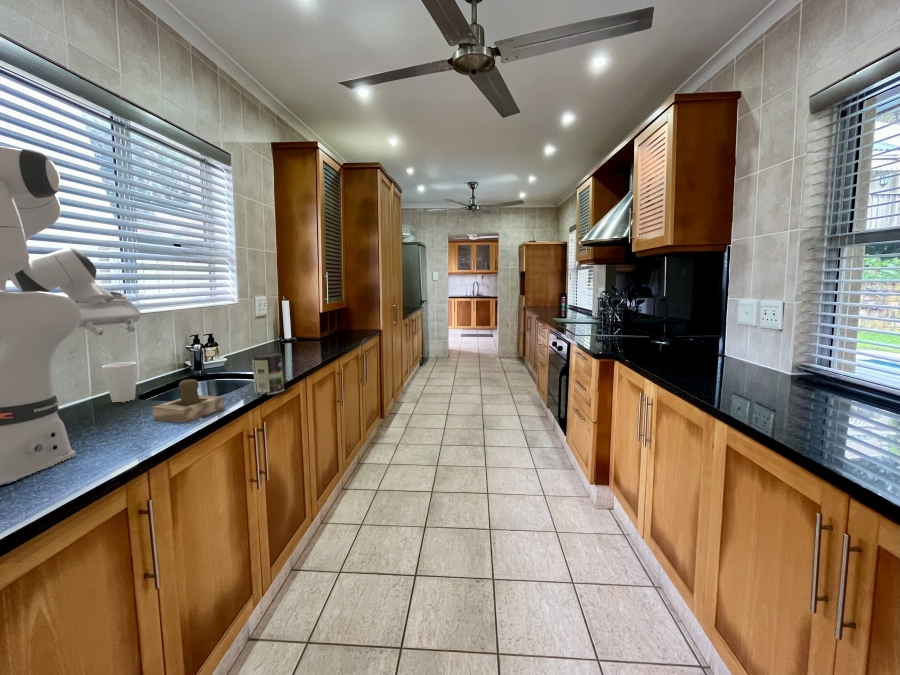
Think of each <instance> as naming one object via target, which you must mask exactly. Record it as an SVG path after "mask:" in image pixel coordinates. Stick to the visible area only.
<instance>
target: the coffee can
mask: <svg viewBox="0 0 900 675" xmlns="http://www.w3.org/2000/svg"><path fill="white" fill-rule="evenodd" d="M282 356H283V354H282V352H264V353H257V354H256V353H255V354H253V355H251V359H252V360H251V361H252V370H253V382H254V393H255V392H256V393H267V395H266V396H271V395H276V394H279V393H282V392H284V391H285V383H284V374H283V373H284V371H283V370H284V369H283V358H282Z"/></svg>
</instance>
